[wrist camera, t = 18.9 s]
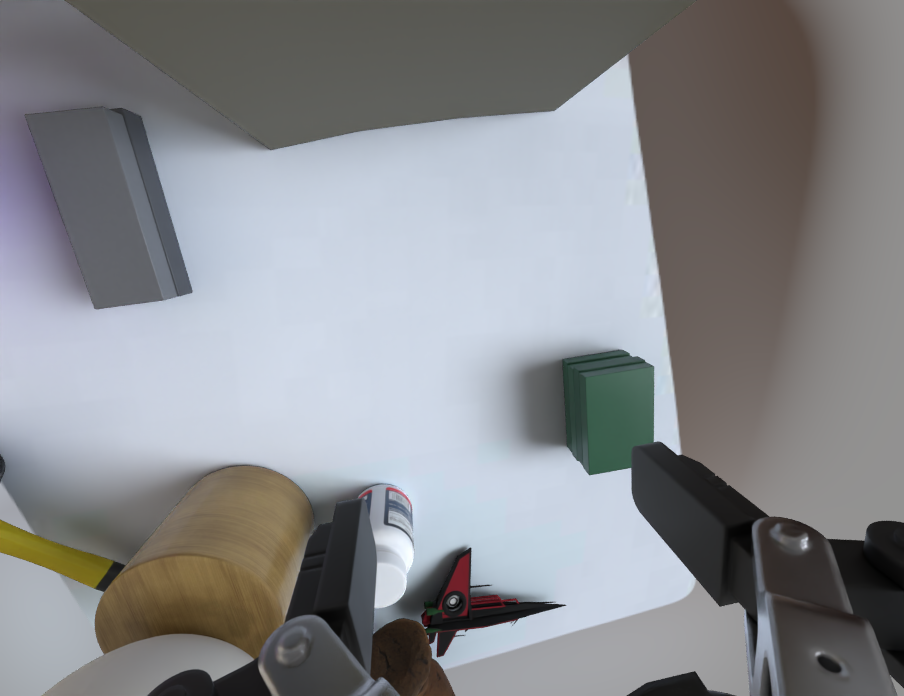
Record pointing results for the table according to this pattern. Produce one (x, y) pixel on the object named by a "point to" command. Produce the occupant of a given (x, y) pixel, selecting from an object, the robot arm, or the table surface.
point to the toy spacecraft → (470, 607)
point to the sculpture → (407, 660)
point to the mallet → (57, 555)
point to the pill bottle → (390, 540)
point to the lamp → (201, 586)
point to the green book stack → (573, 390)
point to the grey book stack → (111, 204)
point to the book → (378, 56)
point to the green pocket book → (615, 415)
